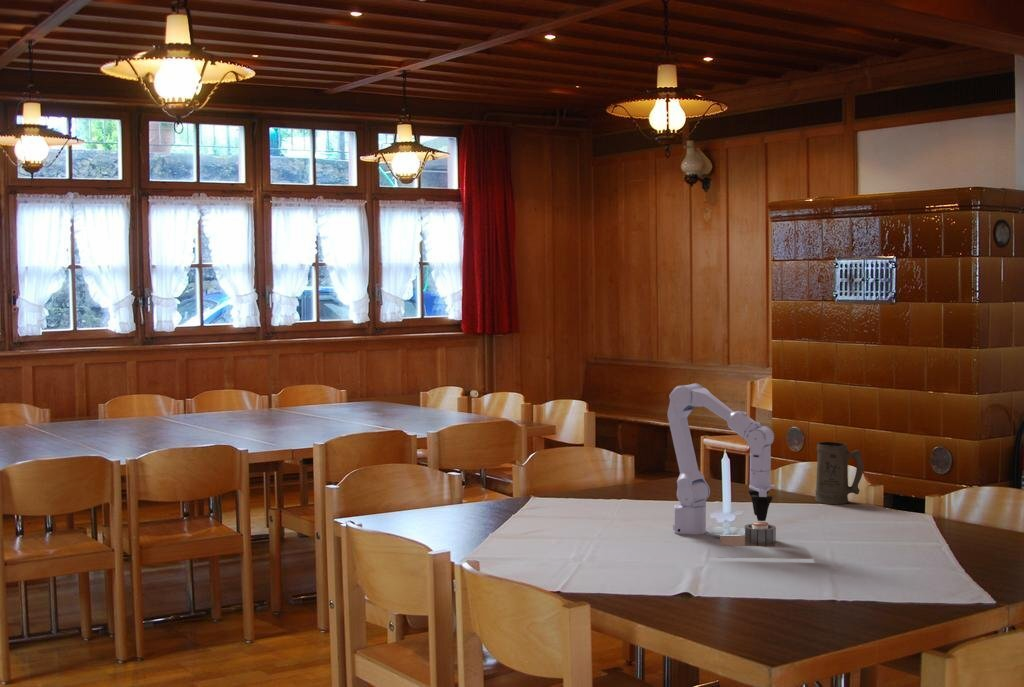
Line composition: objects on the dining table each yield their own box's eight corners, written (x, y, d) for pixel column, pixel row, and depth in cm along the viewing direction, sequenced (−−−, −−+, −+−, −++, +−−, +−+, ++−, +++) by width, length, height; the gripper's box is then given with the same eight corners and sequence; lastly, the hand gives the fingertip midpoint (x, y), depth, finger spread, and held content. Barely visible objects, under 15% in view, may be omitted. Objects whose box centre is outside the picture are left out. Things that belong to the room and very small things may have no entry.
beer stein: (811, 503, 386) (816, 443, 384) (813, 497, 396) (817, 439, 394) (860, 508, 381) (864, 448, 380) (860, 502, 391) (864, 444, 390)
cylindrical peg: (752, 542, 325) (753, 524, 325) (751, 538, 329) (751, 521, 329) (768, 542, 325) (769, 524, 324) (767, 539, 329) (767, 521, 329)
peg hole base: (722, 549, 322) (722, 531, 321) (718, 538, 335) (718, 521, 334) (778, 549, 320) (778, 531, 320) (772, 539, 333) (772, 522, 333)
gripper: (778, 474, 318) (777, 523, 319) (771, 465, 333) (771, 512, 333) (751, 474, 319) (751, 523, 320) (746, 465, 333) (746, 512, 334)
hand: (759, 517), depth 327 cm, fingers open, 7 cm apart
